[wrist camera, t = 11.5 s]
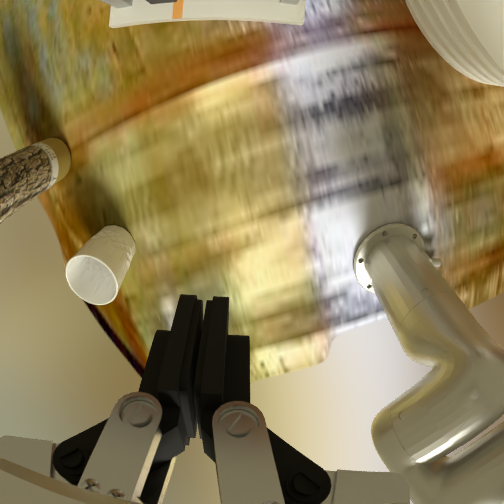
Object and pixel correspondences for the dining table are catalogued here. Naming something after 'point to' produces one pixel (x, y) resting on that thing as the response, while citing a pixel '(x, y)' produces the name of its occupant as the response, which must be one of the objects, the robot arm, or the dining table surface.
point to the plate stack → (465, 35)
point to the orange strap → (177, 9)
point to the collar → (160, 1)
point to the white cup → (101, 265)
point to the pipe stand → (206, 11)
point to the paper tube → (31, 173)
